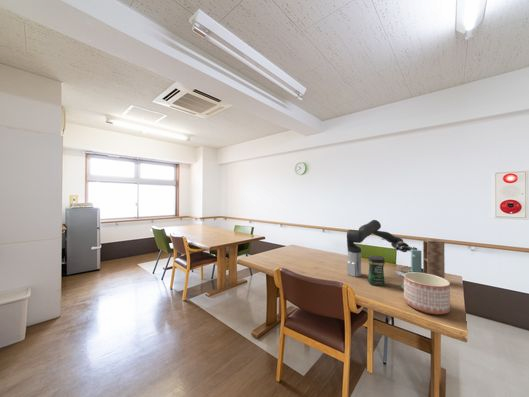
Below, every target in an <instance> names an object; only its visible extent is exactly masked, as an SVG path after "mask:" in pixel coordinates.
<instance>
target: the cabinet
mask: <svg viewBox="0 0 529 397" xmlns="http://www.w3.org/2000/svg"><path fill="white" fill-rule="evenodd" d="M422 241H423V242H422V245H423V246H422V256H423V257H422V259H423V260H422V264H423V265H422V267H423V268H422V273H426V274H431V275H435V276H438V277H441V278H444V279H446V278H445V276H446V274H445V271H446V270H445V268H446V267H445V265H446V264H445V263H446V262H445V241H443V240H440V239H429V238H423V239H422ZM400 272H401V273H404V274H405V273H409V272H411V269H408V271H403V270H401V271H400Z"/></svg>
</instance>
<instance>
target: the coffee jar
mask: <svg viewBox="0 0 529 397" xmlns="http://www.w3.org/2000/svg"><path fill="white" fill-rule="evenodd" d="M367 262H368V264H369V265H368V276H367V282H368V283H369V285H372V286H381V287H383V286H385V282H386V281H385V272H384V266H385V257H384V256H381V255H369V256H368V260H367Z"/></svg>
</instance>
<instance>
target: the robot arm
mask: <svg viewBox="0 0 529 397" xmlns="http://www.w3.org/2000/svg"><path fill="white" fill-rule="evenodd" d="M381 227H382V225H381V222H380V221H378V220H376V219H373V220H371V221H369V222H367V223H366V224H363V225H361V226H360V227H359V228H358V229H357V230H356V229H348V230H347V232H346V244H347V262H346V263H347V264H346V266H347V268H346V270H347V271H346V272H347V273H346V274H347V275H348V276H351V277H361V276H362V249H361V247H360V246H358V245H356V244H361V243H363V241H364V240H366V238H367V237H369V236H371V235H372V234H373V235H375V236H377V237H380V238H382V239H383V240H385V241H387V242H388V243H391V245H390V246H391V247H392V248H394V249H395V251H400V252H403V253H408V252H410V253H411V250H418V248H417V247H415V246H412V247H411V246H409V244H408V243H406V242H404V240H403V238H401V237H398V236H395V235H393V234H392V233H390V232H388V231H382V230H380V229H381Z"/></svg>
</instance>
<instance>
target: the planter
mask: <svg viewBox="0 0 529 397" xmlns="http://www.w3.org/2000/svg"><path fill="white" fill-rule="evenodd" d="M408 272H409V271H408ZM403 283H404V289H403V300H404V302H405V303H406V304H408V305H409V306H410V307H411V308H413V309H414V310H416V311H419V312H422V313H424V314H429V315H434V316H436V315H437V316H438V315H444V314H445V315H446V314H448V313H450V311H451V283H450V281H449V280H448V279H446V278H445V279H444V278H441V277H438V276H435V275H431V274H426V273H418V272H409V273H405V274H404V278H403Z"/></svg>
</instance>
